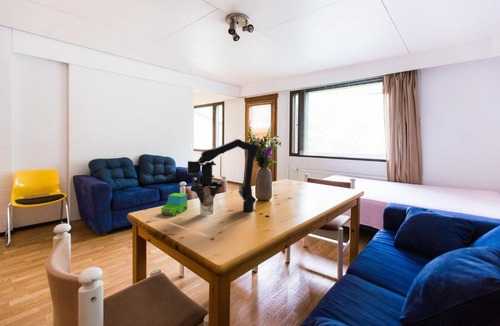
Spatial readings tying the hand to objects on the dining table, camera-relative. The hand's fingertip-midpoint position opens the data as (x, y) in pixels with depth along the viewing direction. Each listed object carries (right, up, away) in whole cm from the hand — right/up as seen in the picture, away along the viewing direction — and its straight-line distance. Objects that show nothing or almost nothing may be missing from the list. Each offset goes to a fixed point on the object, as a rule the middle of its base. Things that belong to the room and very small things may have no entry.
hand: (206, 201), depth 129 cm
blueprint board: (-1, -8, +1) cm, 8 cm away
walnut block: (0, -2, 0) cm, 2 cm away
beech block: (0, -7, +1) cm, 7 cm away
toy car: (-19, -7, +2) cm, 20 cm away
